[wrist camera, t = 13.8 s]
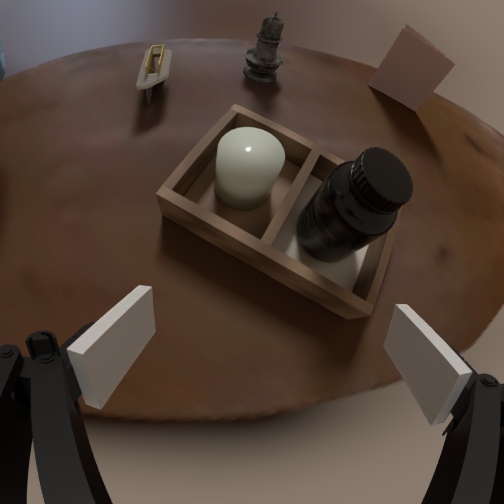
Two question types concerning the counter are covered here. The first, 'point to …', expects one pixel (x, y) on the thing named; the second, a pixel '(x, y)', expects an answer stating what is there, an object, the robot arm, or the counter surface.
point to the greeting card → (411, 69)
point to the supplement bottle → (354, 205)
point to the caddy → (275, 219)
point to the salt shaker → (265, 51)
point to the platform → (153, 69)
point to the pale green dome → (247, 167)
